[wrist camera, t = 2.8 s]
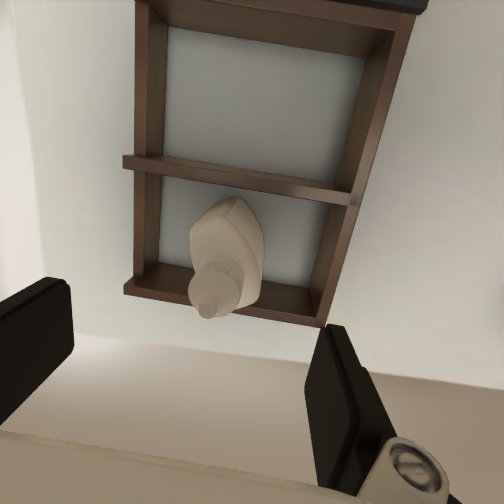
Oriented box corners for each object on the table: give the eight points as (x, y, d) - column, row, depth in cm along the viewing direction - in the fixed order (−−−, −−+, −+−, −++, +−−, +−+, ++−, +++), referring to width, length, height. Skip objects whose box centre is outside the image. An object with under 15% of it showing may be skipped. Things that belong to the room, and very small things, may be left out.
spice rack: (156, 9, 18) (121, -34, 14) (383, 45, 18) (417, 14, 14) (149, 269, 24) (123, 294, 20) (315, 297, 24) (324, 329, 20)
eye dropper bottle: (271, 199, 22) (269, 254, 10) (262, 266, 24) (252, 373, 12) (215, 192, 22) (153, 239, 10) (210, 259, 24) (154, 359, 12)
